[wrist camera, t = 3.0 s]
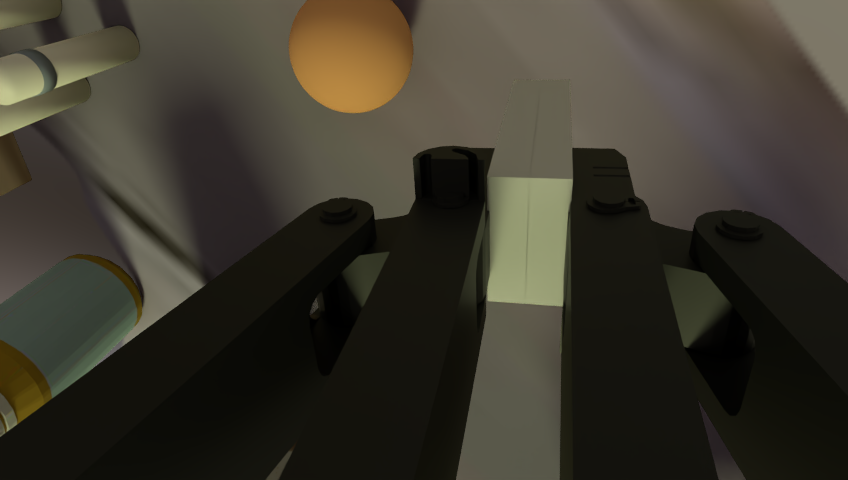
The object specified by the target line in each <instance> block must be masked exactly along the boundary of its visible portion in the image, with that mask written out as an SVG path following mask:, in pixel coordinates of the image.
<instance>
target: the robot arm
mask: <svg viewBox="0 0 848 480" xmlns="http://www.w3.org/2000/svg"><path fill="white" fill-rule="evenodd" d="M413 168H414V181H415V195H416V199H415V201H414V203H413V206H412V208H411V210H410V212H409V214H407V215H404V216H399V217H394V218H386V219H378V220H375V219H374V211H373V207H372V206H371V205H370V204H369V203H367V202H365V201H362V200H358V199H348V198H345V197H344V198H339V199H338V198H334V199H330V200H328V201H326V202H322V203H319V204H317V205H315V206H313V207H311V208H310V209H308V210H307V211H305V212H304V213H303V214H301V215H300V216H299V217H297V218H296V219H294V220H293V221H292V222H290V223H289V224H288V225H286V226H285V227H284V228H282V229H281V230H280V231H278V232H277V233H276V234H274V235H273V236H271V237H270V238H269V239H267V240H266V241H265V242H263V243H262V244H261V245H259V246H258V247H257V248H255V249H254V250H253V251H251V252H250V253H248V254H247V255H246V256H244V257H243V258H242V259H240V260H239V261H238V262H236V263H235V264H234V265H232V266H231V267H230V268H228V269H227V270H225V271H224V272H223V273H221V274H220V275H219V276H217V277H216V278H215V279H213V280H212V281H211V282H209V283H208V284H206V285H205V286H204V287H202V288H201V289H200V290H198V291H197V292H196V293H194V294H193V295H192V296H190V297H189V298H188V299H186V300H185V301H183V302H182V303H181V304H179V305H178V306H177V307H175V308H174V309H173V310H171V311H170V312H169V313H167V314H166V315H165V316H163V317H162V318H160V319H159V320H158V321H156V322H155V323H154V324H152V325H151V326H150V327H148V328H147V329H146V330H144V331H143V332H141V333H140V334H139V335H137V336H136V337H135V338H133V339H132V340H131V341H129V342H128V343H127V344H125V345H124V346H123V347H121V348H120V349H118V350H117V351H116V352H114V353H113V354H112V355H110V356H109V357H108V358H106V359H105V360H104V361H102V362H101V363H100V364H98V365H97V366H95V367H94V368H93V369H91V370H90V371H89V372H87V373H86V374H85V375H83V376H82V377H81V378H79V379H78V380H77V381H75V382H74V383H72V384H71V385H70V386H68V387H67V388H66V389H64V390H63V391H62V392H60V393H59V394H58V395H56V396H55V397H53V398H52V399H51V400H49V401H48V402H47V403H45V404H44V405H43V406H41V407H40V408H39V409H37V410H36V411H35V412H33V413H32V414H30V415H29V416H28V417H26V418H25V419H24V420H22V421H21V422H20V423H18V424H17V425H16V426H14V427H13V428H12V429H10V430H9V431H7V432H6V433H5V434H3V435H2V436H1V437H0V480H266V479H267V477H268V476H269V475H270V474H271V472H272V471H273V470H274V469H275V467H276V466H277V465H278V464H279V462H280V461H281V460H282V459H283V458H284V456H285V455H286V454H287V453H288V451H289V450H290V449H291V448H292V446H293V445H294V444H295V443H296V442H297V443H296V445H295V447H294V449H293V451H292V453H291V455H290V458H289V460H288V462H287V464H286V466H285V468H284V470H283V472H282V474H281V476H280V478H279V480H456V476H457V471H458V465H459V460H460V454H461V449H462V443H463V438H464V433H465V427H466V422H467V416H468V411H469V405H470V400H471V395H472V389H473V384H474V378H475V373H476V367H477V362H478V356H479V351H480V346H481V340H482V335H483V329H484V324H485V318H486V291H487V286H488V301H495V302H509V303H523V304H537V305H551V306H563V311H562V325H561V339H560V353H561V428H560V480H718V476H717V472H716V468H715V464H714V460H713V457H712V453H711V449H710V445H709V441H708V437H707V434H706V430H705V426H704V422H703V418H702V414H701V410H700V407H699V403H698V400H699V402H700V404H701V405H702V407H703V408H704V410H705V412H706V413H707V415H708V417H709V418H710V420H711V422H712V423H713V425H714V427H715V428H716V430H717V432H718V433H719V435H720V437H721V438H722V440H723V442H724V443H725V445H726V447H727V448H728V450H729V452H730V453H731V455H732V457H733V458H734V460H735V462H736V463H737V465H738V467H739V468H740V470H741V472H742V473H743V475H744V477H745V478H746V480H848V283H847V282H846V281H845V280H843V279H842V278H841V277H840V276H839V275H837V274H836V273H835V272H834V271H833V270H832V269H830V268H829V267H828V266H827V265H826V264H824V263H823V262H822V261H821V260H820V259H818V258H817V257H816V256H815V255H814V254H813V253H811V252H810V251H809V250H808V249H807V248H805V247H804V246H803V245H802V244H801V243H799V242H798V241H797V240H796V239H795V238H794V237H792V236H791V235H790V234H789V233H788V232H786V231H785V230H784V229H783V228H782V227H780V226H779V225H777V224H776V223H774V222H772V221H771V220H769V219H766V218H764V217H761V216H758V215H756V214H754V213H752V212H747V211H744V212H742V210H731V211H714V212H709V213H705V214H703V215H701V216H699V217H698V218H697V219H696V222H695V224H694V229H693V231H688V230H682V229H677V228H673V227H669V226H665V225H662V224H659V223H657V222H654V221H652V220H651V218H650V214H649V211H648V207H647V205H646V204H645V203H644V201H643V200H641V199H639V198H638V197H636V196H635V194H634V190H633V186H632V181H631V177H630V173H629V169H628V164H627V160H626V157H625V156H623V155H622V154H621V153H619V152H618V151H617V150H615V149H596V148H572V126H571V91H570V80H514V82H513V85H512V89H511V92H510V96H509V100H508V103H507V107H506V110H505V114H504V117H503V121H502V125H501V128H500V132H499V135H498V139H497V143H496V146H495V148H468V147H460V146H443V147H436V148H431V149H427V150H425V151H422V152H420V153H418V154H417V155H416V156H415V157H414V158H413ZM316 297H317V302H318V307H319V308H318V309H317V310H316V311H315V312H314V313H313V314H311V315H310V311H311V307H312V304H313V302H314V300H315V299H316ZM297 440H298V441H297Z"/></svg>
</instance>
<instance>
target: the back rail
mask: <svg viewBox="0 0 848 480" xmlns="http://www.w3.org/2000/svg"><path fill="white" fill-rule="evenodd" d="M31 180H32V178H31V176H30V173H29V171H28V168H27V166H26V164H25V161H24V159H23V156H22V154H21V151H20V149H19V147H18V144H17V142H16V139H15V137H14V135H13V132H10V133H7V134H5V135H3V136H0V196H2V195H4V194H6V193H8V192H9V191H12V190H13V189H15V188H17V187H19V186H21V185H23V184H25V183H27V182H29V181H31Z"/></svg>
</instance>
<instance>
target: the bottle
mask: <svg viewBox="0 0 848 480" xmlns="http://www.w3.org/2000/svg"><path fill="white" fill-rule="evenodd" d="M141 315H142V302H141V296H140V293H139V290H138V287H137V286H136V284H135V283H134V281H133V280H132V278H131V277H130V276H129V275H128V274H127V273H126V272H125V271H124V270H123V269H122V268H120V267H119V266H118V265H116V264H114V263H113V262H111V261H109V260H106V259H104V258H101V257H98V256H92V255H83V254H77V255H73V256H69V257H67V258H66V259H64V260H63V261H61V262H60V263H58V264H56V265H55V266H54V267H52V268H51V269H49V270H48V271H47V272H45V273H44V274H42V275H41V276H39V277H38V278H37V279H35V280H34V281H32V282H31V283H30V284H28V285H27V286H25V287H24V288H23V289H21V290H20V291H18V292H17V293H15V294H14V295H13V296H12V297H10V298H9V299H7V300H6V301H4V302H3V303H2V304H0V437H1V436H2V435H3V434H5V433H6V432H7V431H9V430H10V429H12V428H13V427H14V426H16V425H17V424H18V423H20V422H21V421H22V420H24V419H25V418H26V417H28V416H29V415H30V414H32V413H33V412H35V411H36V410H37V409H39V408H40V407H41V406H43V405H44V404H45V403H47V402H48V401H49V400H51V399H52V398H53V397H55V396H56V395H58V394H59V393H60V392H62V391H63V390H64V389H66V388H67V387H68V386H70V385H71V384H72V383H74V382H75V381H77V380H78V379H79V378H81V377H82V376H83V375H85V374H86V373H87V372H89V371H90V370H91V369H92V368H93V367H94V366H95V365H96V364H97V363H98V362H99V361H100V360H101V359H102V358H103V357H104V356H105V355H106V354H107V353H108V352H109V351H110V350H111V349H112V348H113V347H114V346H115V345H117V343H119V342H120V341H121V340H122V339H123V338H124V337H125V336H126V335H127V334H128V333H129V332H130V331H131V330H132V329H133V327H134V326H135V325H136V324H137V323H138V322H139V320H140V318H141Z"/></svg>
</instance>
